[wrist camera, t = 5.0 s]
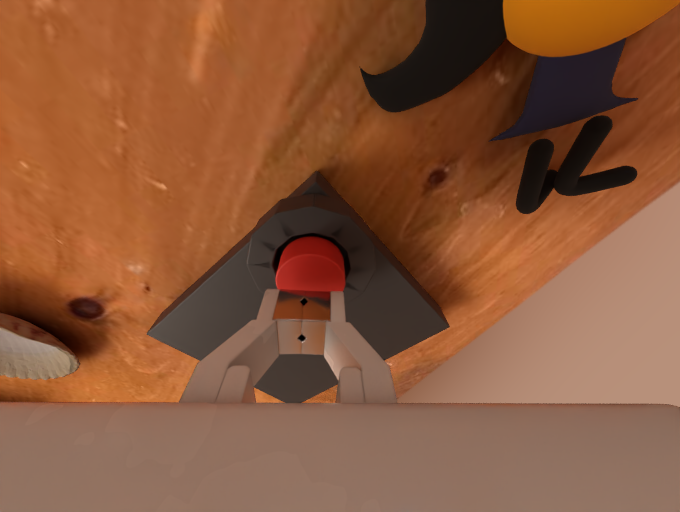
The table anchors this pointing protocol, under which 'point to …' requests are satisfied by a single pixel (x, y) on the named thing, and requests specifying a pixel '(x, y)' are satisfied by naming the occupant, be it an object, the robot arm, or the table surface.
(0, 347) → the seashell
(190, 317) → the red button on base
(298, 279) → the button
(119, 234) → the table surface
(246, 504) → the robot arm
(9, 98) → the table surface
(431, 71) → the character figurine
